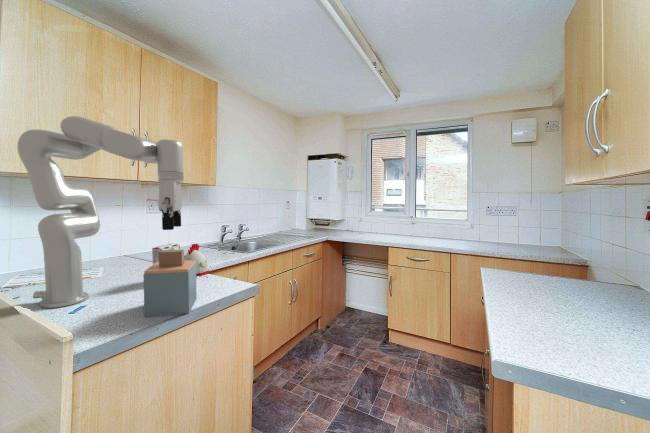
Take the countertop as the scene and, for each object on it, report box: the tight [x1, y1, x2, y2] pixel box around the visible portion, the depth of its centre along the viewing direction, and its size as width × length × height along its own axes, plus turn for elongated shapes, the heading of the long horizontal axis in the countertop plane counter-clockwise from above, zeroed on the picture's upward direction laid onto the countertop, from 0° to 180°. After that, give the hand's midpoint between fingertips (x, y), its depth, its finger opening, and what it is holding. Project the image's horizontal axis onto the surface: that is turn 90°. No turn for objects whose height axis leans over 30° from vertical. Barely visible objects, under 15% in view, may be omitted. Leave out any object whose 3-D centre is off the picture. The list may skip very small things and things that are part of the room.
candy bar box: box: [151, 243, 181, 265], centre depth 121 cm, size 11×5×16 cm, turn 168°
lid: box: [143, 249, 195, 274], centre depth 93 cm, size 13×13×8 cm
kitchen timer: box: [184, 243, 210, 278], centre depth 134 cm, size 14×14×15 cm
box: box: [143, 263, 197, 318], centre depth 93 cm, size 13×13×14 cm
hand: (172, 227), depth 92 cm, fingers open, 9 cm apart
